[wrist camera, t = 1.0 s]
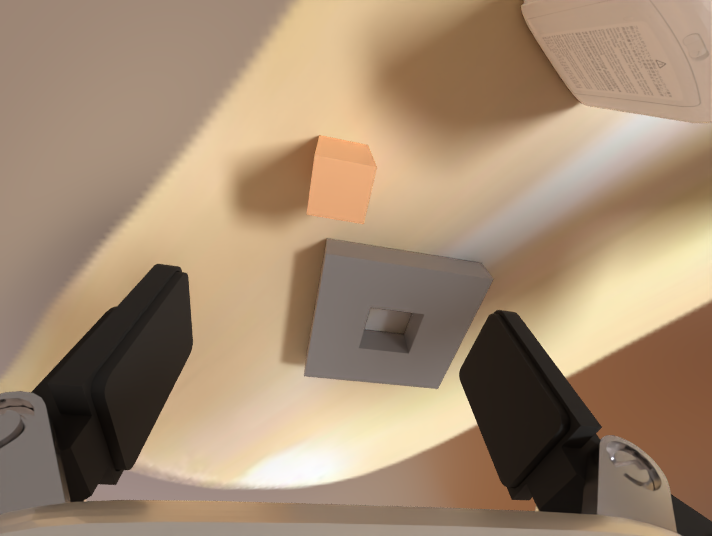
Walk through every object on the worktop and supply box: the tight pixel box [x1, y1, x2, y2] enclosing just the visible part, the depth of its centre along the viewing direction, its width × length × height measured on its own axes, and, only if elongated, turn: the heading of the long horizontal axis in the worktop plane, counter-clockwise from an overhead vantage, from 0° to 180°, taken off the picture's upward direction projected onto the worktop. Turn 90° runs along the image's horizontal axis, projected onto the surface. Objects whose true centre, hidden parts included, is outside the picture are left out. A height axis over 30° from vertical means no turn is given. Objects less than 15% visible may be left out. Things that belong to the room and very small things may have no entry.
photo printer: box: [521, 0, 712, 123], centre depth 18 cm, size 10×4×12 cm, turn 49°
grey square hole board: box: [304, 238, 493, 389], centre depth 35 cm, size 16×16×3 cm
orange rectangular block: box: [307, 135, 377, 224], centre depth 24 cm, size 4×4×7 cm
